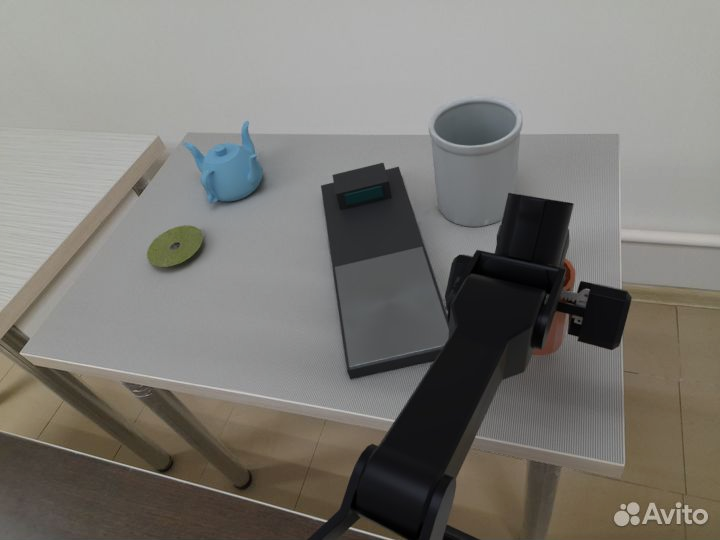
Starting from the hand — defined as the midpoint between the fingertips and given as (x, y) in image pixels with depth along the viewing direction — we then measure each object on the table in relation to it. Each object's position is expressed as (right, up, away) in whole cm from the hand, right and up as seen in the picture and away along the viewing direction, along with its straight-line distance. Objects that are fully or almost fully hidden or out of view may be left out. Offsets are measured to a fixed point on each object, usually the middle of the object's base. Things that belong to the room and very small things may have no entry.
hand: (542, 293), depth 65 cm
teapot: (-49, +22, +50) cm, 74 cm away
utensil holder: (-1, +15, +32) cm, 35 cm away
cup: (+1, -5, +4) cm, 7 cm away
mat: (-58, +6, +38) cm, 70 cm away
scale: (-19, +4, +26) cm, 33 cm away
